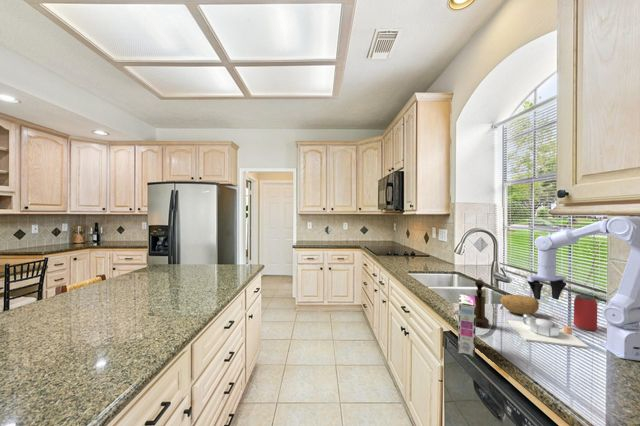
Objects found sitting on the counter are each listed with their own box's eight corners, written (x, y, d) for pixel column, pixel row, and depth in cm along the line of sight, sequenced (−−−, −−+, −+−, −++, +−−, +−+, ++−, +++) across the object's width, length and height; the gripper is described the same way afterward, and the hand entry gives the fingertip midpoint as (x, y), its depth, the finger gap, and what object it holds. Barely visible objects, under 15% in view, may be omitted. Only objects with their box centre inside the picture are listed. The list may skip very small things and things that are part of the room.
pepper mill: (478, 320, 114) (478, 277, 113) (492, 326, 107) (493, 281, 107) (466, 322, 111) (466, 278, 111) (479, 329, 105) (480, 282, 105)
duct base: (589, 348, 91) (589, 334, 91) (525, 340, 96) (525, 327, 96) (560, 327, 107) (560, 315, 107) (507, 321, 112) (507, 310, 112)
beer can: (601, 332, 103) (602, 300, 103) (581, 330, 104) (581, 299, 104) (588, 324, 109) (589, 295, 109) (569, 323, 111) (569, 294, 110)
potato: (498, 307, 128) (498, 290, 128) (535, 312, 122) (535, 294, 122) (502, 314, 119) (502, 296, 119) (542, 320, 113) (542, 301, 113)
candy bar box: (475, 357, 85) (476, 305, 85) (457, 354, 87) (458, 303, 87) (474, 342, 95) (474, 295, 95) (458, 339, 97) (458, 293, 97)
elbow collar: (565, 336, 97) (565, 327, 97) (543, 336, 97) (543, 327, 97) (534, 321, 111) (534, 313, 111) (514, 321, 110) (514, 313, 110)
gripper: (555, 263, 114) (554, 295, 115) (521, 263, 114) (521, 295, 114) (571, 267, 107) (570, 301, 108) (535, 267, 107) (535, 301, 107)
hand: (546, 298), depth 110 cm, fingers open, 7 cm apart
